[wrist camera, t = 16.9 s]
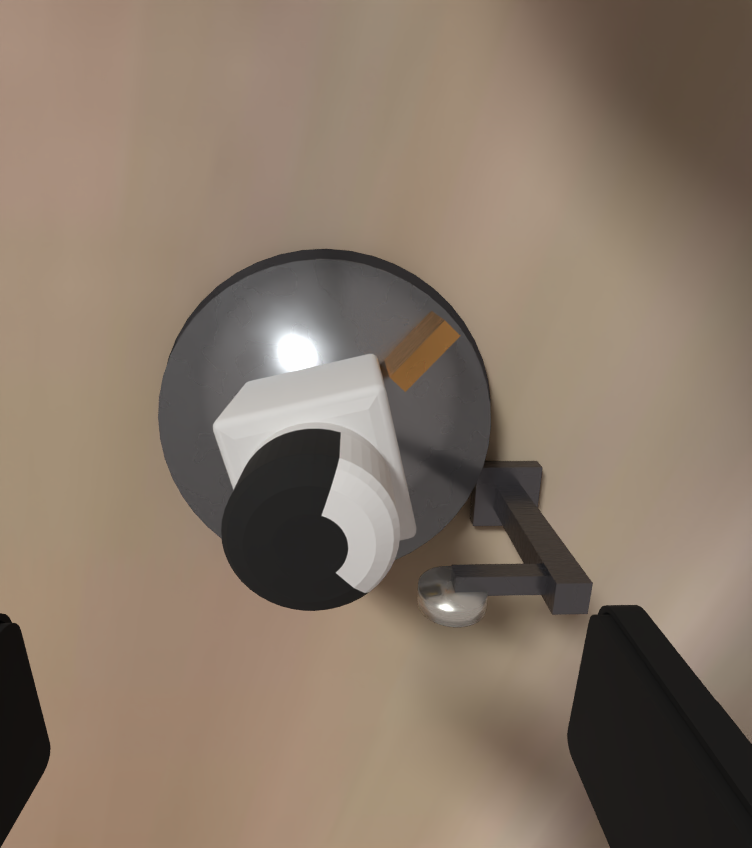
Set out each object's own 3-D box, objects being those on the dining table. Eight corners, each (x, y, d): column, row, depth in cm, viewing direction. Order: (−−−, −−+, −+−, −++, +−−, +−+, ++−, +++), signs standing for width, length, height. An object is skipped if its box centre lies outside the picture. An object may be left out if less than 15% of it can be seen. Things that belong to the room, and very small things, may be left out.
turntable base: (148, 246, 28) (141, 246, 27) (499, 251, 29) (504, 251, 28) (184, 555, 34) (180, 564, 33) (474, 551, 35) (478, 560, 34)
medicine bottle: (280, 500, 29) (236, 656, 18) (243, 381, 27) (165, 474, 16) (403, 473, 29) (436, 613, 18) (376, 350, 27) (394, 422, 16)
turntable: (339, 604, 34) (336, 674, 29) (106, 429, 30) (48, 471, 24) (544, 412, 31) (588, 449, 25) (315, 181, 26) (305, 161, 20)
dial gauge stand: (401, 461, 32) (425, 563, 22) (537, 461, 33) (625, 560, 22) (399, 519, 34) (421, 641, 23) (530, 517, 34) (610, 636, 23)
